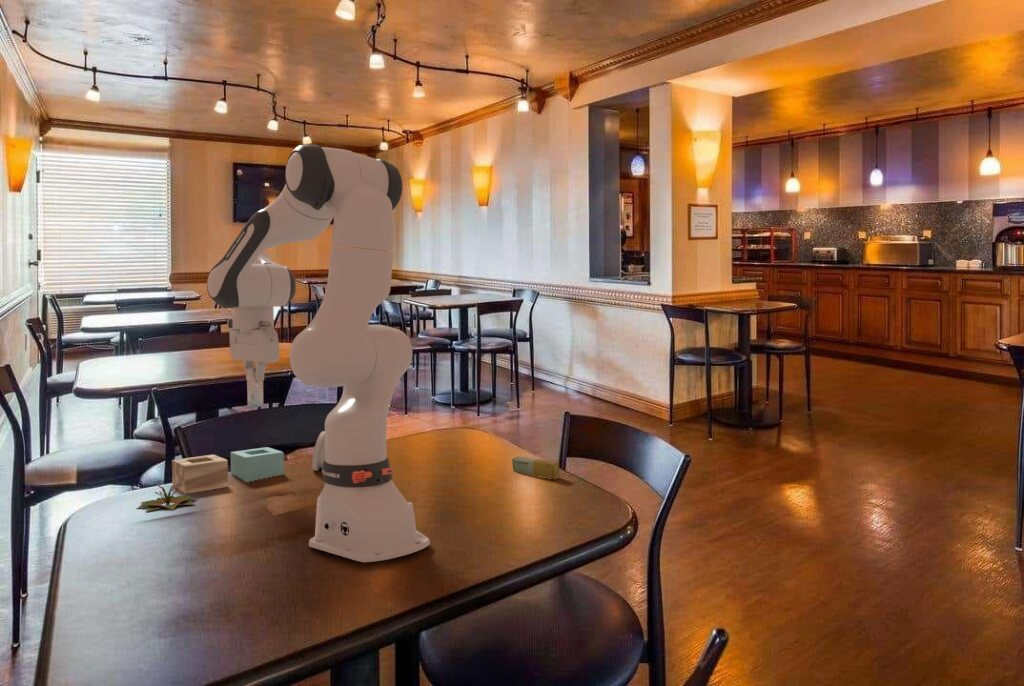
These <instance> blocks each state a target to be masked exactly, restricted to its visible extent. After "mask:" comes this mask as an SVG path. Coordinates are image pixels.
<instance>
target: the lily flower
mask: <svg viewBox="0 0 1024 686" xmlns="http://www.w3.org/2000/svg"><path fill="white" fill-rule="evenodd" d="M174 483H175V482H174ZM174 483H173V482H172V485H171V486H170V488H169V485H168V486H167V485H166V488H169V489H168V490H166V489H165V487H164V486H161V485H160V484H157V487H159V488H160V489H161V490H162V491H160V490H159V492H157V491H155V492H154V493H155V494H157V495H158V496H160V497H157V498H156V499H151V500H146V501H140V503H141V505H139V507H136V508H135V509H140V508H145V507H146V511H145V513H147V512H150V511H151V512H152V511H155V510H157V508H158V506H162V507H163V509H165V508H166V509H170V510H171V511H173V510H175V508H176V507H177V506H186V505H187V506H188V505H189V506H190V505H195V503H194V502H193V501H192V500H197V498H196V497H192V496H188V494H186V495H179V496H174V495H175V494H176V493H178V492H179V490H178V489H177V490H175V487H174V485H173V484H174ZM178 484H179V483H178ZM178 484H177V485H178ZM172 492H173V493H172ZM164 504H165V505H164ZM158 509H161V507H159V508H158Z"/></svg>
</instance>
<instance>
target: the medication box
mask: <svg viewBox="0 0 1024 686" xmlns="http://www.w3.org/2000/svg"><path fill="white" fill-rule="evenodd" d="M511 460H512V471H513V472H515V471H517V472H516V473H519V472H522V473H521V474H523V473H526V474H525V475H527V474H531V475H530V476H532V475H535V476H534V477H536V476H541V477H546V478H550V479H554V480H553V481H556V480H558V479H560V478H561V474H560V462H559V461H557V460H549V459H540V458H533V457H532V458H531V457H525V456H524V457H523V456H516V457H514V458H512V459H511ZM559 477H560V478H559ZM555 479H556V480H555Z"/></svg>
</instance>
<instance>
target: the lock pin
mask: <svg viewBox="0 0 1024 686" xmlns="http://www.w3.org/2000/svg"><path fill="white" fill-rule="evenodd" d="M254 373H256V367H254V368H247V379H246V387H247V388H246V389H247V391H246V392H247V394H246V395H247V408H260V407H263V406H264V380H263V381H255V380H254Z"/></svg>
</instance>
